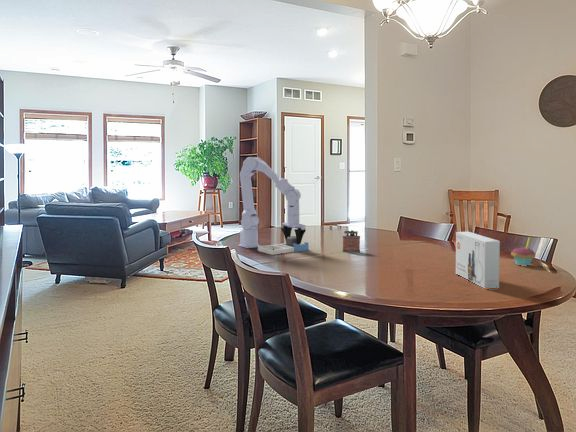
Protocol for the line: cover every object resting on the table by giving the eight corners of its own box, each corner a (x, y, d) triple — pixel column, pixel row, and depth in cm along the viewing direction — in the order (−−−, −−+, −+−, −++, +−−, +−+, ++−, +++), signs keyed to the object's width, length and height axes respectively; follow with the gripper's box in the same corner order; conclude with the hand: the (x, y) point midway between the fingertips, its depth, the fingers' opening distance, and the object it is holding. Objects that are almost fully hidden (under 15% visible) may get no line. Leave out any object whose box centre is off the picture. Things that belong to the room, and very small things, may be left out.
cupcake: (532, 263, 182) (534, 234, 181) (536, 268, 174) (538, 237, 173) (509, 262, 185) (510, 233, 184) (511, 266, 177) (513, 236, 176)
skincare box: (453, 274, 164) (455, 231, 163) (468, 274, 165) (469, 231, 163) (483, 290, 144) (485, 240, 142) (499, 289, 144) (502, 240, 142)
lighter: (359, 251, 210) (360, 230, 209) (360, 252, 207) (360, 231, 206) (342, 251, 211) (342, 229, 210) (342, 252, 208) (342, 230, 207)
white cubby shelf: (257, 250, 212) (257, 243, 211) (293, 246, 224) (293, 239, 224) (273, 255, 202) (273, 247, 201) (309, 249, 214) (309, 242, 214)
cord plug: (286, 249, 216) (286, 236, 215) (293, 248, 219) (293, 235, 219) (291, 250, 213) (291, 237, 213) (299, 249, 217) (299, 236, 216)
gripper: (277, 214, 217) (277, 242, 219) (297, 216, 207) (297, 245, 208) (287, 213, 222) (287, 240, 224) (308, 215, 212) (308, 244, 213)
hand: (293, 243), depth 216 cm, fingers open, 7 cm apart
